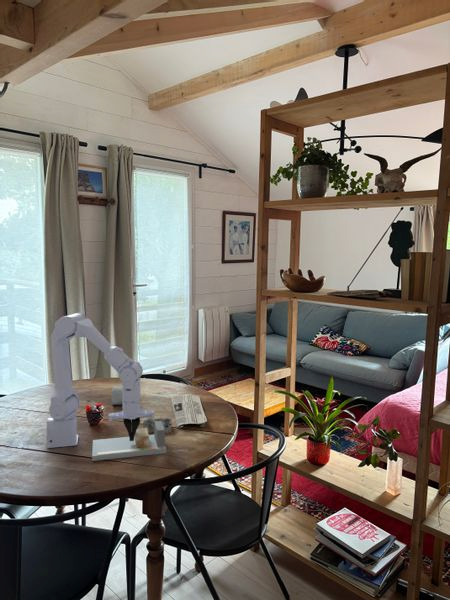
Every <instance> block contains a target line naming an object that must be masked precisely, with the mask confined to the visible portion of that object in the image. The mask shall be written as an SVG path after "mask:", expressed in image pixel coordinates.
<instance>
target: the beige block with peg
mask: <svg viewBox="0 0 450 600" xmlns="http://www.w3.org/2000/svg"><path fill="white" fill-rule="evenodd" d="M149 435H150V433H148V430H147V428H143V427H141V428H140V427H138V428H137V430H136V433H135V442H136V448H138V447H142V449H143V448H144V447H148V446H149Z"/></svg>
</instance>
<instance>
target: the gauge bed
mask: <svg viewBox="0 0 450 600" xmlns="http://www.w3.org/2000/svg"><path fill="white" fill-rule="evenodd" d="M153 433H154V434H149V446H148V447H144V448H143V449H142V447H138V448H136V442H135V437H134V441H130V439H129V436H123V437H113V438H111V437H110V438H101V439H93V440H92V448H91V449H92V453H91V458H92V459H91V461H92V462H94V461H103V460H114V459H123V458H133V457H141V456H149V455H160V454H161V455H162V454H167V447H166V443H165V441H166V440H165V439H166V437H165V435H166V433H165V429H164V427H163V424H162V421H154V432H153Z"/></svg>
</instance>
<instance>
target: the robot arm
mask: <svg viewBox="0 0 450 600" xmlns="http://www.w3.org/2000/svg"><path fill="white" fill-rule="evenodd" d="M74 337H76V338H85V339H87V340H88V341H90V343H91V344H93V345H94V346H95V347H96V348H98V350H100V351H101V352H102V353H103V357H104V360H105V361H106V362H107V364H109V365H110V366H111V367H112V368H113V369H114V370H115V371H116V372H117V373H118V377H119V379H120V381H121V383H122V386H121V387H122V391H123V405H122V410H121V411H117V412H112V413H111V412H110V413H108V422H109V423H110V422H113V421H120V420H121V421H123V425H124V427H125V428H126V431H127V434H128V437H129V439H130V441H134V437H135V433H136V430H137V429H138V428H139V426H140V424H141V419H147V418H154V419H155V411H154V410H153V409H152V410H151V409H150V410H147V409H141V376H143V372H144V370H143V366H142V365H141V364H140V362H138V361H136V360H134V359H133V358H130V357H129V356H128V355H127V354H126V353H125V352H124V349H123V348H122V347H119V346H116V345H115V346H114V345H112V344H111V343H110V342H109V341H108V340H107V339H106V338H105V337H104V335H103V334H102V333H101V332H100V331H99V329H97V327H96V326H95V325H94V323H93V322H92V320H91V319H90V318H88V317H87V316H86V315H85V314H84V313H82V312H74V313H72V314H69V315H65V316H64V315H63V316H61V317H59V318H58V319H57V320H56V321H55V322H54V328H53V331H52V333H51V336H50V346H51V358H52V369H53V370H52V371H53V382H54V383H53V384H54V391H53V393H52V395H51V397H50V405H49V407H48V414H49V415H50V416H51V417H48V418H47V420H46V449H53V448H65V447H72V446H73V447H75V446H78V442H79V434H77V410H78V409H79V407H80V405H81V403H80V398H79V396H78V394H77V390H76V389H75V388H74V386H73V382H72V381H73V380H72V379H73V378H72V369H71V357H70V356H71V355H70V341H71V340H72V339H73V338H74Z"/></svg>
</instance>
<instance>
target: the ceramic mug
mask: <svg viewBox="0 0 450 600" xmlns="http://www.w3.org/2000/svg"><path fill="white" fill-rule="evenodd" d="M122 387H123V386H117V385H114V386H113V387H112V389H111V405H114V406H116V405H117V406H118V405H119V406H121V405H122V406H123V391H122Z"/></svg>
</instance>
